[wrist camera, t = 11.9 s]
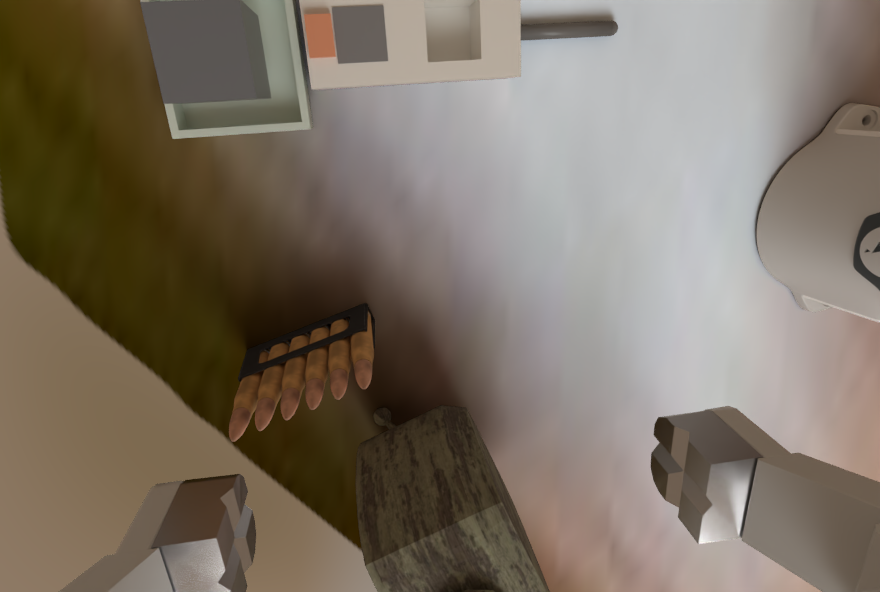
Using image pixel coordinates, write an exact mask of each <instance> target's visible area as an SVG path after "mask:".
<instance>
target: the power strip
mask: <svg viewBox="0 0 880 592" xmlns="http://www.w3.org/2000/svg"><path fill="white" fill-rule="evenodd" d="M299 2H300V10H301V17H302V24H303V32H304V39H305V46H306V54H307V61H308V68H309V75H310V83H311V89H312V90H329V89H345V88H361V87H378V86H394V85H410V84H427V83H443V82H459V81H476V80H492V79H506V78H513V77H520V76H521V40H539V39H558V38H578V37H597V36H612V35H614V34H615V33H616V32H617V29H618V25H617V23H616V22H615V21H595V22H574V23H553V24H532V25H521V17H520V0H299Z"/></svg>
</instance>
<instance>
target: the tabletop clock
mask: <svg viewBox="0 0 880 592" xmlns="http://www.w3.org/2000/svg"><path fill="white" fill-rule="evenodd" d="M373 418H374V422H375V423H377V424H378V425H379V426H384V425H386V426H387V427H388V429H389V430H388V431H386V432H383V433H381V434H379V435H377V436H375V437H373V438H371V439H369V440H366V441H364V442H362V443H361V444H360V446H359V447H358V452H357V461H356V498H357V514H358V525H359V533H360V541H361V547H362V552H363V556H364V561H365V566H366V568H367V570H368V572H369V575H370V577H371V579H372V581H373V583H374V585H375V587H376V589H377V591H378V592H550V591H549V589H548V586H547V584H546V581H545V579H544V576H543V574H542V571H541V569H540V566H539V564H538V561H537V559H536V556H535V554H534V552H533V549H532V547H531V544H530V542H529V539H528V537H527V535H526V532H525V530H524V527H523V525H522V522H521V520H520V518H519V515H518V513H517V511H516V508H515V506H514V504H513V501H512V499H511V497H510V495H509V493H508V490H507V488H506V486H505V484H504V482H503V480H502V478H501V476H500V474H499V472H498V470H497V468H496V466H495V464H494V462H493V460H492V458H491V456H490V454H489V452H488V449H487V447H486V445H485V444H484V442H483V440H482V438H481V436H480V434H479V432H478V430H477V428H476V426H475V424H474V422H473V420H472V418H471V416H470V414H469V412H468V410H467V408H462V407H452V406H442V405H441V406H439V407H437V408H435V409H432V410H430V411H428V412H426V413H424V414H422V415H420V416H418V417H415V418H413V419H411V420H409V421H407V422H405V423H403V424H400V425H398V426H396V425H395V424H394V423H392V422H391V421H390V420H391V412H390V411H389V410H388V409H387V408H385V407H384V408H378V409H377V410H376V411H375V413H374V415H373Z"/></svg>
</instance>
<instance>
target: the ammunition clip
mask: <svg viewBox="0 0 880 592" xmlns="http://www.w3.org/2000/svg"><path fill="white" fill-rule="evenodd" d="M374 348H375V320H374V318H373V316H372V313H371V311H370V309H369V307H368V304H365V303H364V304H362V305H359V306H357V307H354V308H351V309H349V310H346V311H344V312H341V313H339V314H336V315H334V316H331V317H329V318H326V319H324V320H321V321H319V322H316V323H313V324H311V325H308V326H306V327H303V328H301V329H298V330H296V331H293V332H291V333H288V334H286V335H283V336H280V337H278V338H275V339H273V340H270V341H268V342H265V343H263V344H260V345H258V346H255V347H253V348H250V349H248V350H247V352H246V355H245V358H244V361H243V364H242V367H241V370H240V374H239V377H238V380H239V382H241V383H240V386H239V389H238V391H237V394H236V397H235V399H234V409H233V412H232V417H231V420H230V425H229V436H230V439H231V441H233V442H234V441H236V440H237V439H239V438H240V437H241V435H242V434H243V433H244V431H245V429H246V428H247V426H248V424H249V421H250V419H251V417H252V414H253V412H254V411H255V409H256V413H255V423H256V427H257V429H258V430H259V431H262V430H263V429H264V428H265V427H266V426H267V425H268V424H269V422H270V420H271V418H272V416H273V414H274V411H275V408H276V405H277V403H278V401H279V399H280V398H281V395H282V398H281V412H282V416H283V418H284V419H285V420H289V419H290V418H291V417H292V416H293V415H294V413H295V411H296V409H297V407H298V404H299V400H300V397H301V393H302V391H303V389H304V387H305V383H306V401H307V404H308V407H309V408H310V409H311V410H314V409H316V408H317V407H318V405H319V403H320V401H321V399H322V396H323V391H324V387H325V382H326V380H327V378H328V372H330V386H331V390H332V393H333V395H334V397H335V398H336V399H337V400H339V399H341V398H342V397H343V395H344V393H345V392H346V389H347V384H348V376H349V372H350V369H351V359H352V362H353V365H354V372H355V377H356V381H357V383H358V385H359V386H360V387H361V388H362V389H366V388H367V387H368V386H369V384H370V382H371V377H372V363H373V360H374ZM241 379H242V381H241Z"/></svg>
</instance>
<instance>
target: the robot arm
mask: <svg viewBox="0 0 880 592" xmlns="http://www.w3.org/2000/svg"><path fill="white" fill-rule="evenodd" d="M863 118H864V119H863ZM862 120H863V122H862ZM757 246H758V251H759V255H760V258H761V260H762V262H763V264H764V266H765V268H766V269H767V271H768V272H769V273H770V274H771V275H772V276H773V277H774V278H775V279H776V280H778V281H779V282H781V283H782V284H784V285H785V286H787V287H788V288H789V289H790V290H791V291H792V293H793V295H794V297H795V300H796V301H797V303H798V305H799V306H800V307H801V308H802V309H804V310H807V311H810V312H820V311H823V310H826V309H829V308H832V307H834V308H837V309H840V310H843V311H846V312H849V313H852V314H855V315H858V316H861V317H864V318H867V319H870V320H873V321H876V322H879V323H880V107H877V106H871V105H865V104H858V103H848V104H846V105H844V106H843V107H841V108H840V109H839V110H838V111H837V112H836V114H835V115H834V116H833V118H832V119H831V120H830V122H829V123H828V124H827V126H826V127H825V129H824V130H823V132H822V133H821V134H820V135H819V136H818V137H817V138H816V139H814V140H813V141H812V142H811V143H809V144H808V145H807V146H805V147H804V148H803V149H801V150H800V151H799V152H798V153H796V154H795V155H794V156H793V157H792V158H791V159H790V160H789V161H788V162H787V163H786V164H785V166H784V167H783V168H782V169H781V170H780V172H779V173H778V174H777V176H776V177H775V179H774V180H773V182H772V184H771V185H770V187H769V189H768V191H767V193H766V195H765V198H764V200H763V203H762V206H761V209H760V213H759V217H758V222H757ZM654 436H655V437H656V438H657V440H658V441H659V442H660V443H659V444H658V446H657V447H656V448H655V449H654V451H653V452H652V454H651V471H652V475H653V480H654V482H655V485H656V487H657V489H658V491H659V492H660V494H661V495H662V496H663V498H664V499H665V500H666V501H668V502H669V503H671V504H673V505H675V506H677V507H679V514H678V518H679V519H680V520H681V522H682V523H683V524H684V526H685V527H686V528H687V530H688V531H689V532H690V534H691V535H692V536H693V538H694V539H695V540H696V541H697V543H698V544H702V543H710V542H717V541H724V540H732V539H739V538H742V541H743V542H745V543H746V544H748V545H750V546H751V547H753V548H754V549H756V550H757V551H759V552H761V553H762V554H764V555H765V556H767V557H768V558H770V559H772V560H773V561H775V562H776V563H778V564H780V565H781V566H783V567H784V568H786V569H787V570H789V571H791V572H792V573H794V574H795V575H797V576H798V577H800V578H802V579H803V580H805V581H806V582H808V583H810V584H811V585H813V586H814V587H816V588H817V589H819V590H821V591H822V592H880V482H877V481H875V480H872V479H869V478H866V477H864V476H861V475H858V474H855V473H853V472H850V471H847V470H844V469H842V468H839V467H836V466H834V465H831V464H828V463H825V462H823V461H820V460H817V459H814V458H812V457H809V456H806V455H803V454H801V453H792V454H791V453H790V452H788V451H787V450H786V449H785V448H783V447H782V446H781V445H780V444H779V443H777V442H776V441H775V440H774V439H773V438H771V437H770V436H769V435H768V434H767V433H765V432H764V431H763V430H762V429H760V428H759V427H758V426H757V425H756V424H754V423H753V422H752V421H751V420H750V419H748V418H747V417H746V416H745V415H744V414H742V413H741V412H740V411H739V410H737V409H736V408H733V407H730V406H725V407H719V408H713V409H707V410H705V411H699V412H692V413H685V414H678V415H671V416H664V417H658V419H657V421H656V423H655V427H654ZM247 493H248V491H247V487H246V484H245V480H244V477H243V476H242V475H240V474H235V475H226V476H218V477H209V478H201V479H192V480H185V481H177V482H168V483H161V484H156V485H155V486H153V487H152V488H151V489H150V490H149V492H148V494H147V496H146V498H145V499H144V501H143V503H142V505H141V507H140V509H139V511H138V512H137V514H136V516H135V518H134V520H133V522H132V523H131V525H130V527H129V529H128V531H127V533H126V534H125V536H124V538H123V540H122V542H121V544H120V546H119V548H118V549H117V551H116V553H115V554H114V555H107V556H105V557H103V558H102V559H101V560H99V561H98V562H97V563H95V564H94V565H93V566H92V567H90V568H89V569H88V570H86V571H85V572H84V573H82V574H81V575H80V576H79V577H77V578H76V579H75V580H73V581H72V582H71V583H69V584H68V585H67V586H66V587H64V588H63V589H62V590H60V591H59V592H246V589H247V583H246V579H245V575H244V572H245V571H246V570H247V569H248V568H249V567H250V566H251V565H252V562H253V558H254V553H255V543H256V530H255V520H254V516H253V511H252V510H251V509H250V508H248V507H247V506H246V505H244V503H245V500H246V496H247Z"/></svg>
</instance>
